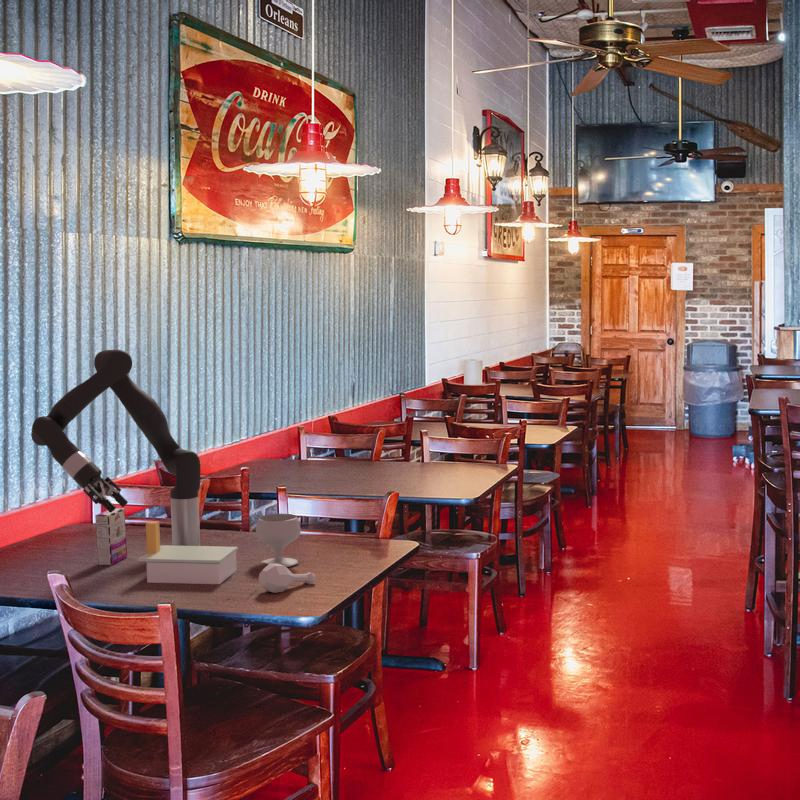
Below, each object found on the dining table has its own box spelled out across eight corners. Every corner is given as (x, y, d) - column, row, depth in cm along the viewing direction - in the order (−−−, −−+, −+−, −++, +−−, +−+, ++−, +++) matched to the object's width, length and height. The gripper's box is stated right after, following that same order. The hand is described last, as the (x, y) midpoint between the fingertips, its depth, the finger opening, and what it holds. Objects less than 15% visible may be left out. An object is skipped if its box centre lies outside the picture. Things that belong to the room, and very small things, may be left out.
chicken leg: (323, 589, 299) (319, 560, 302) (273, 589, 286) (270, 559, 289) (305, 595, 304) (301, 567, 307) (255, 596, 292) (252, 567, 295)
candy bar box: (113, 557, 339) (111, 507, 337) (127, 557, 338) (125, 507, 336) (96, 565, 328) (94, 514, 326) (111, 566, 327) (109, 514, 325)
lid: (159, 547, 318) (158, 516, 318) (238, 549, 315) (237, 517, 314) (137, 561, 302) (136, 528, 301) (219, 563, 298) (218, 529, 297)
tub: (167, 571, 318) (167, 549, 318) (236, 573, 315) (236, 550, 314) (147, 585, 302) (146, 562, 302) (219, 587, 299) (218, 563, 298)
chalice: (304, 568, 320) (302, 520, 318) (258, 571, 317) (257, 523, 315) (298, 557, 333) (297, 511, 332) (255, 560, 330) (253, 514, 329)
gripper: (78, 464, 303) (117, 503, 303) (100, 457, 317) (137, 494, 317) (62, 482, 305) (101, 521, 304) (84, 474, 319) (121, 511, 318)
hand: (119, 507), depth 310 cm, fingers open, 8 cm apart
